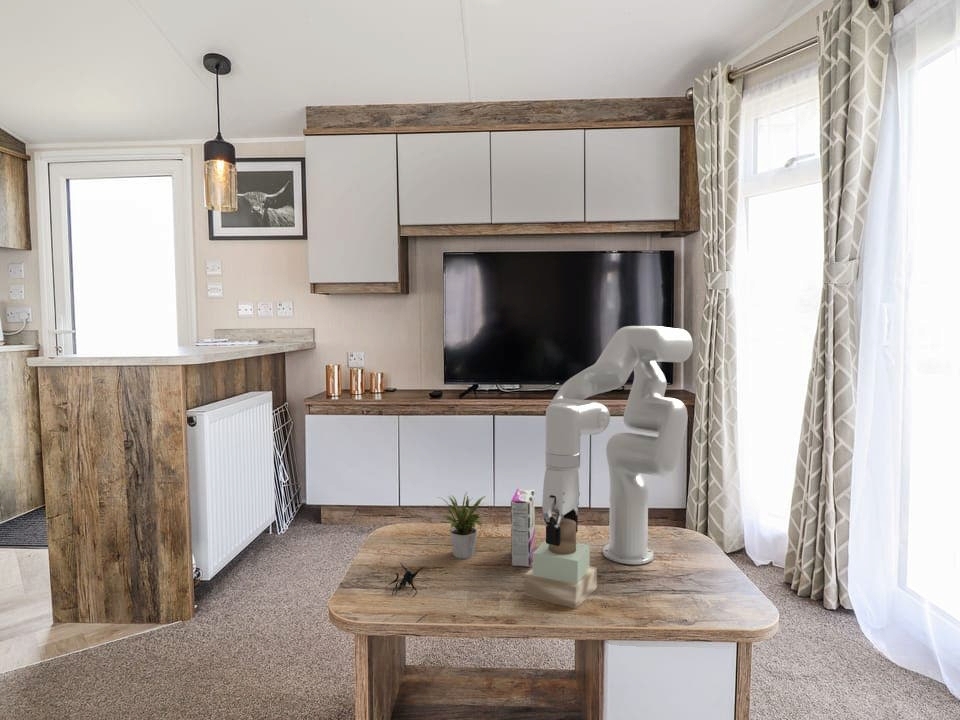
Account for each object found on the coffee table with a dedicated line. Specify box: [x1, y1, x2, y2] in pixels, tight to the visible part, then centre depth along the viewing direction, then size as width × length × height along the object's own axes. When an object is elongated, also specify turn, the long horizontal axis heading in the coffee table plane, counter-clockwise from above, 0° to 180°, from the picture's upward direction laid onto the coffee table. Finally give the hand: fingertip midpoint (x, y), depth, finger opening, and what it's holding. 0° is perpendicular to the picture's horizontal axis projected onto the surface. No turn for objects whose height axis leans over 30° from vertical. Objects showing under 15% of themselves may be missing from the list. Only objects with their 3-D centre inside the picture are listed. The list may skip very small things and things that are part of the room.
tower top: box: [532, 539, 591, 584], centre depth 127 cm, size 10×10×5 cm
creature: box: [385, 563, 423, 598], centre depth 128 cm, size 8×5×8 cm
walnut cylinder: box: [549, 517, 577, 555], centre depth 127 cm, size 6×6×6 cm
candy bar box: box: [510, 488, 536, 568], centre depth 146 cm, size 11×5×16 cm, turn 168°
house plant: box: [437, 491, 486, 559], centre depth 148 cm, size 14×14×16 cm
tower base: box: [524, 565, 598, 610], centre depth 128 cm, size 12×12×5 cm
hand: (562, 537), depth 127 cm, fingers open, 8 cm apart
